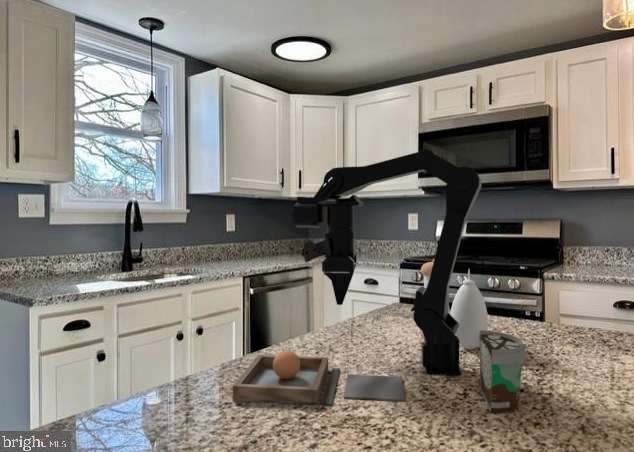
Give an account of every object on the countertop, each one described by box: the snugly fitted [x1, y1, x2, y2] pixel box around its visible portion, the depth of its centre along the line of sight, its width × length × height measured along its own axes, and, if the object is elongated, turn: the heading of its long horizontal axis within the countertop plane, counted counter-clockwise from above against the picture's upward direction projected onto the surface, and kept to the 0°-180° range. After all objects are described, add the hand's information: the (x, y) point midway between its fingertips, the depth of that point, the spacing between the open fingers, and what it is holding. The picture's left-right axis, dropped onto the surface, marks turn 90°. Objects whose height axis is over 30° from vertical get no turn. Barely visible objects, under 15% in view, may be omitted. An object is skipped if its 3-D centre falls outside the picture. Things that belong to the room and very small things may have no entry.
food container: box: [479, 330, 528, 414], centre depth 70 cm, size 12×6×10 cm, turn 168°
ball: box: [273, 350, 300, 379], centre depth 80 cm, size 5×5×5 cm
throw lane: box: [232, 354, 406, 407], centre depth 78 cm, size 28×16×2 cm, turn 82°
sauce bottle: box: [450, 269, 489, 351], centre depth 98 cm, size 8×8×18 cm
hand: (341, 300), depth 94 cm, fingers open, 9 cm apart
